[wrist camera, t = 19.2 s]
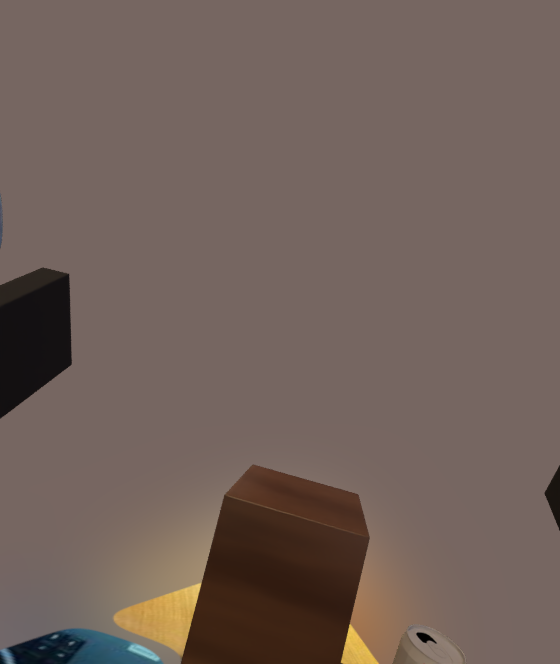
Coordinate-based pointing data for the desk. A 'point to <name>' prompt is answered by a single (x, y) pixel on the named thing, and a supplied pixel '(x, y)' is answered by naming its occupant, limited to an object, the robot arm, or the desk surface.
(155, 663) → the desk surface
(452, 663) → the energy drink
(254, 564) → the block
